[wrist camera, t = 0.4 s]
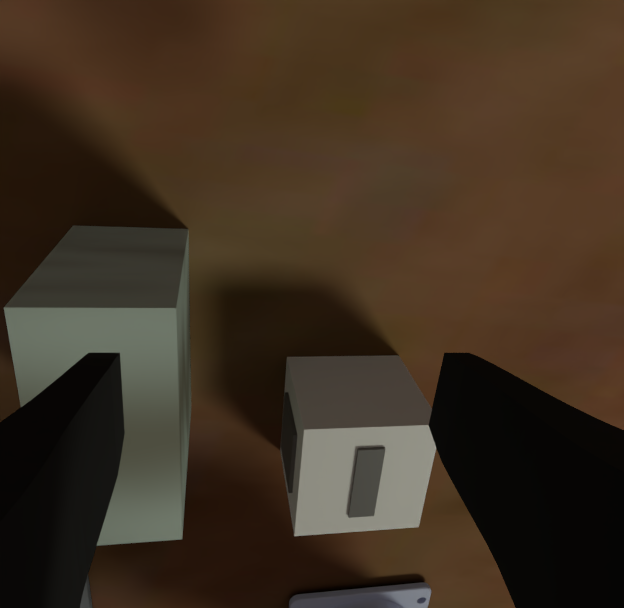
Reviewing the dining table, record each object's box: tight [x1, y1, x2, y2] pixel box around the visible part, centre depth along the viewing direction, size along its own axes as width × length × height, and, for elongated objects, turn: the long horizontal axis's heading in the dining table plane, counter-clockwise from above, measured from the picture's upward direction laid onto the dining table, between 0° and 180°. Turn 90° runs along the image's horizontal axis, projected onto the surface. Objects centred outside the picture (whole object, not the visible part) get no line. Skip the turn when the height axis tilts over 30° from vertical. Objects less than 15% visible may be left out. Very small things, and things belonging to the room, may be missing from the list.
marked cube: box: [280, 355, 436, 536], centre depth 22 cm, size 5×5×5 cm
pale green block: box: [4, 226, 191, 546], centre depth 18 cm, size 8×4×7 cm, turn 175°
